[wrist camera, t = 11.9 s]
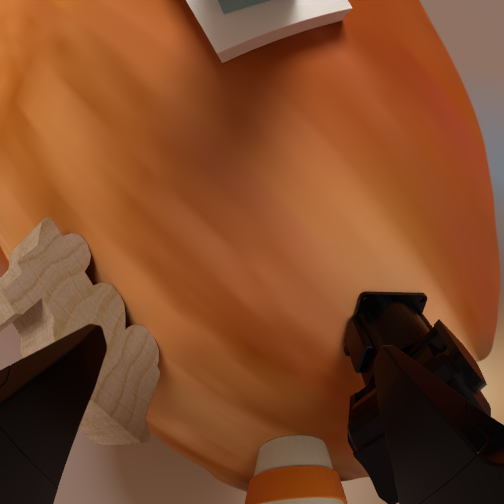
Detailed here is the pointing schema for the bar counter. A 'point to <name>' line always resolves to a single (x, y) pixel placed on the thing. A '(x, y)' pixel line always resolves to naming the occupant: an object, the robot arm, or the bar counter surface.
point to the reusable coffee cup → (295, 473)
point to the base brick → (262, 22)
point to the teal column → (237, 4)
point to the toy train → (75, 317)
